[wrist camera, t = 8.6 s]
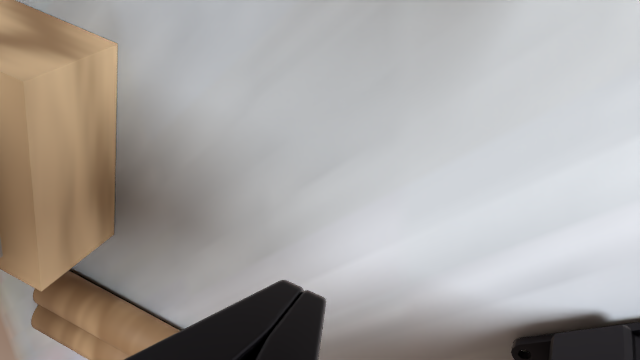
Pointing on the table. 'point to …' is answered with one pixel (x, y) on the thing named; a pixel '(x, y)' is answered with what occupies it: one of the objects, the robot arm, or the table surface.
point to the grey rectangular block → (0, 249)
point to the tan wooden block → (54, 143)
